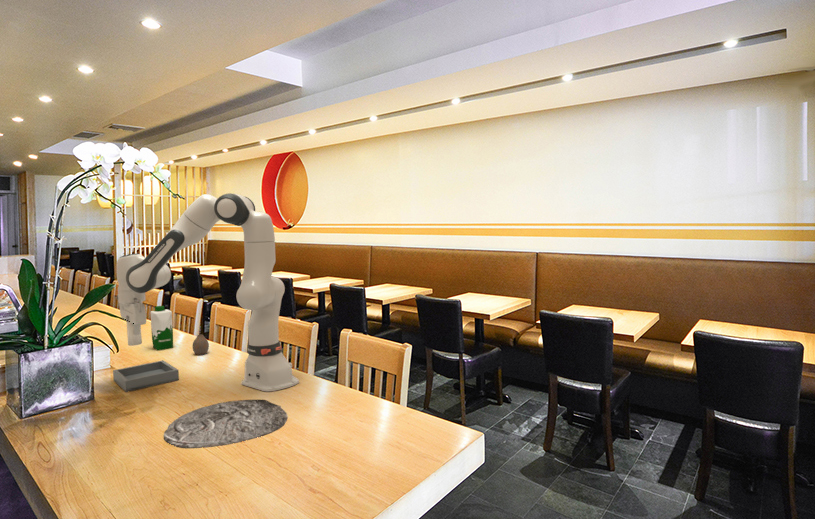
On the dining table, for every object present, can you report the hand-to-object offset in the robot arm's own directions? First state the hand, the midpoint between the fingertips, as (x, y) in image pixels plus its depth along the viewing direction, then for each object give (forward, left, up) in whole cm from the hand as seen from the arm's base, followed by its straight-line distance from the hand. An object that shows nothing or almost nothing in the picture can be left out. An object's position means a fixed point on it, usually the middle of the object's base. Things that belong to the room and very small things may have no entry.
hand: (134, 333), depth 179 cm
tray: (0, -3, -19) cm, 19 cm away
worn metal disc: (-60, -9, -19) cm, 64 cm away
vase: (+22, -32, -19) cm, 43 cm away
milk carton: (+46, -23, -19) cm, 55 cm away
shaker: (0, 0, -4) cm, 4 cm away
